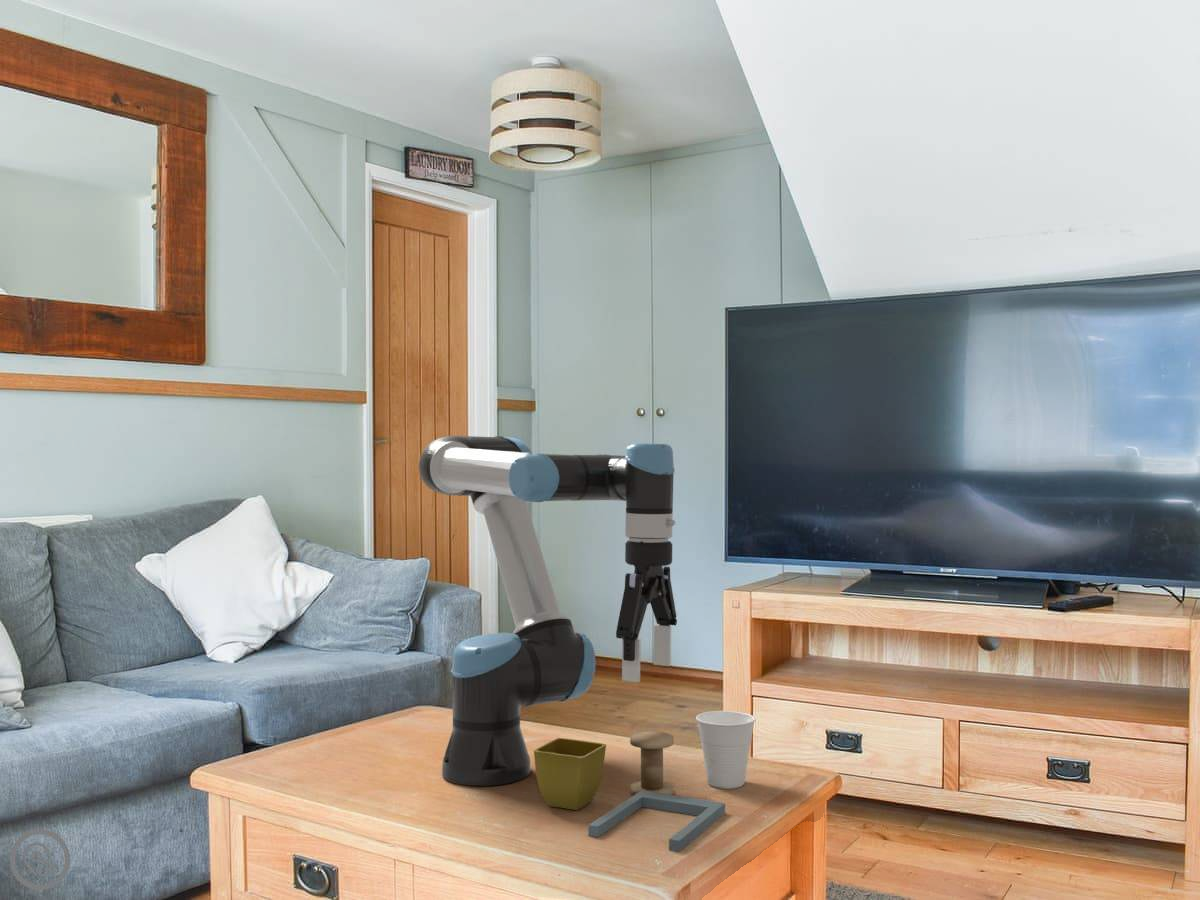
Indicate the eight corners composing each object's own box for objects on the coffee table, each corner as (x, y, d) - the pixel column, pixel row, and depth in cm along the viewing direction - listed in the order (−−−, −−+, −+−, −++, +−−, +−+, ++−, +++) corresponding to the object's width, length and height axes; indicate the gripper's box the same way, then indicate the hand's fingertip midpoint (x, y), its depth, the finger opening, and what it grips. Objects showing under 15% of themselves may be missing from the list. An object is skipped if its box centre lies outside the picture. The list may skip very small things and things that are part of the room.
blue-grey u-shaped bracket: (679, 851, 138) (679, 840, 138) (588, 835, 144) (588, 824, 145) (725, 812, 154) (725, 803, 154) (641, 799, 160) (641, 790, 161)
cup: (754, 794, 163) (754, 725, 163) (693, 791, 165) (692, 723, 165) (757, 777, 173) (757, 712, 173) (699, 773, 175) (699, 709, 175)
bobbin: (623, 795, 163) (622, 739, 163) (641, 784, 169) (641, 729, 169) (663, 802, 159) (662, 744, 160) (680, 789, 166) (680, 734, 166)
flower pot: (607, 800, 160) (607, 743, 161) (583, 817, 153) (583, 756, 153) (558, 793, 164) (558, 737, 164) (532, 809, 156) (532, 750, 157)
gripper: (641, 546, 149) (639, 691, 149) (696, 535, 172) (694, 661, 172) (595, 544, 152) (593, 686, 152) (654, 533, 175) (653, 656, 175)
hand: (647, 673), depth 162 cm, fingers open, 13 cm apart
